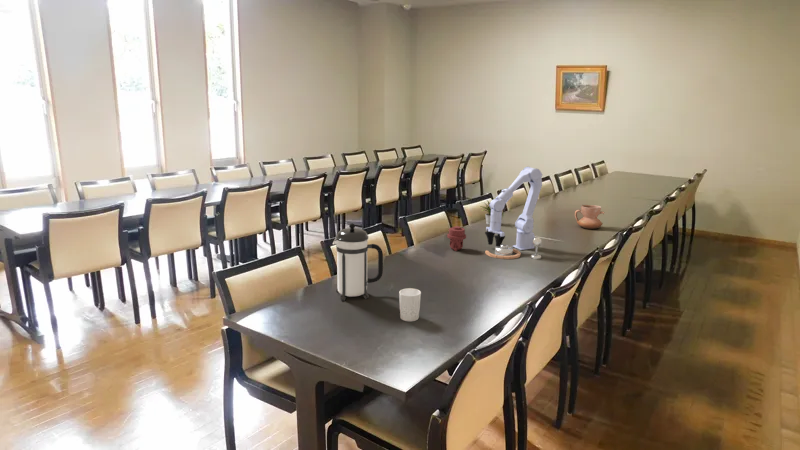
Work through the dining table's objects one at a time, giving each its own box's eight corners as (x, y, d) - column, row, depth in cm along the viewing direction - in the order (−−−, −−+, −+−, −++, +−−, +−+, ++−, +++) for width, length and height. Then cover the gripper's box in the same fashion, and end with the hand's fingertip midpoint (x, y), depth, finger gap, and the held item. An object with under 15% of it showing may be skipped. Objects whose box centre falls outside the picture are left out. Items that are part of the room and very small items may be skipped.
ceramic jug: (604, 227, 333) (606, 205, 330) (601, 231, 321) (603, 209, 318) (575, 224, 341) (577, 203, 338) (571, 228, 329) (573, 206, 326)
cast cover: (506, 251, 274) (506, 241, 273) (515, 255, 266) (516, 246, 265) (491, 252, 271) (492, 243, 270) (501, 257, 263) (501, 247, 262)
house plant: (485, 220, 347) (487, 196, 343) (504, 223, 339) (506, 198, 336) (475, 223, 336) (477, 199, 332) (495, 227, 328) (496, 201, 324)
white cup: (397, 313, 191) (398, 288, 189) (418, 313, 192) (419, 288, 189) (399, 322, 183) (400, 296, 181) (421, 322, 184) (422, 295, 182)
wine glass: (530, 256, 266) (532, 235, 264) (540, 256, 265) (542, 236, 263) (531, 258, 262) (532, 238, 259) (541, 259, 261) (542, 239, 258)
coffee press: (358, 305, 198) (358, 230, 191) (326, 297, 206) (325, 224, 199) (383, 292, 212) (384, 221, 205) (352, 284, 220) (352, 216, 213)
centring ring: (511, 249, 277) (511, 247, 277) (527, 256, 265) (527, 254, 265) (483, 252, 270) (483, 250, 270) (498, 260, 258) (498, 258, 258)
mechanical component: (466, 247, 280) (464, 252, 271) (447, 246, 282) (445, 251, 272) (467, 225, 277) (465, 229, 268) (448, 224, 279) (446, 228, 270)
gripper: (481, 219, 278) (480, 243, 281) (497, 225, 265) (495, 250, 268) (492, 218, 281) (491, 242, 284) (508, 224, 268) (506, 249, 271)
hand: (494, 246), depth 276 cm, fingers open, 7 cm apart
